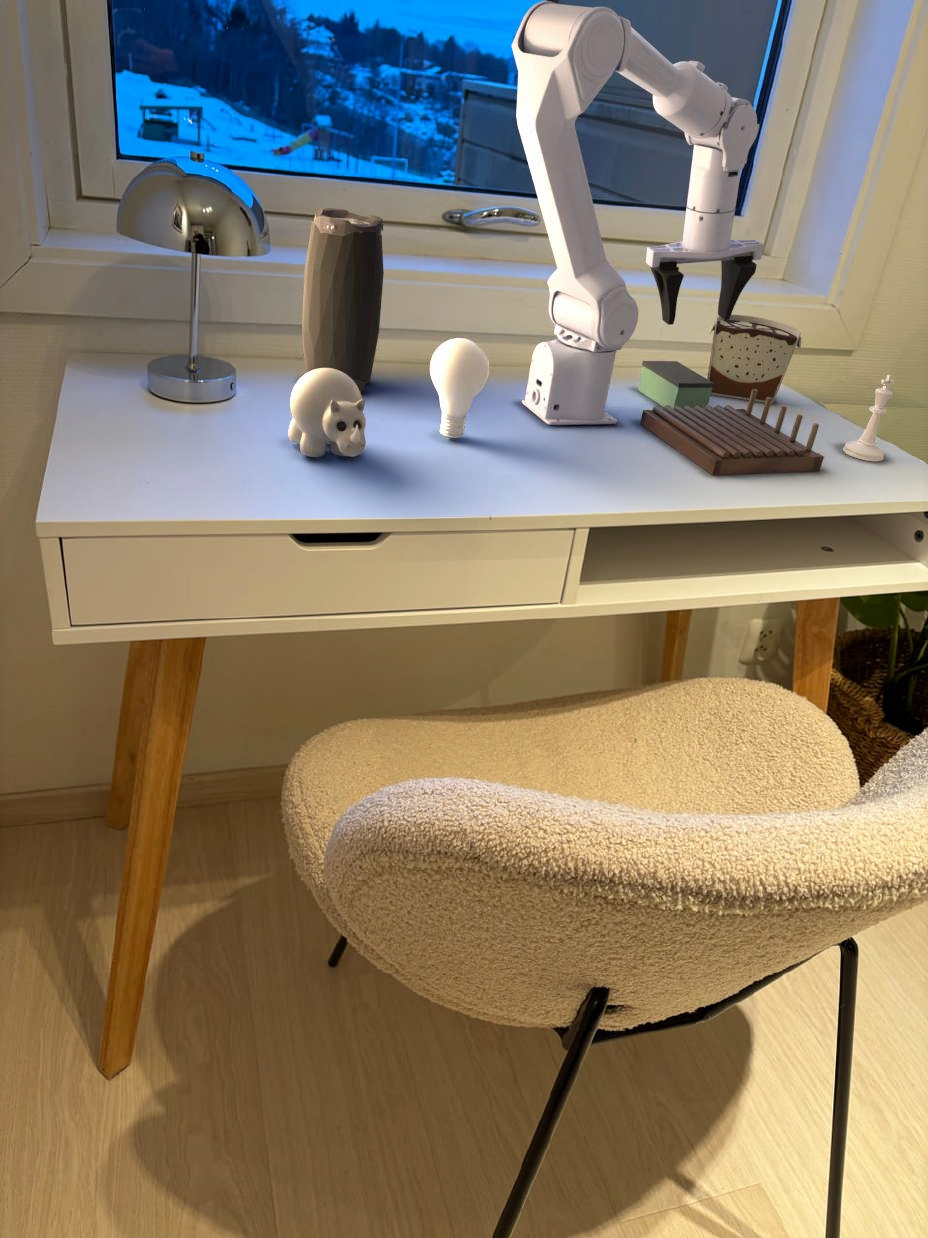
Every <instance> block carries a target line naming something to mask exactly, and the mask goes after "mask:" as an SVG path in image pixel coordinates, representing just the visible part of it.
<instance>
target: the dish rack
mask: <svg viewBox="0 0 928 1238" xmlns="http://www.w3.org/2000/svg"><path fill="white" fill-rule="evenodd" d="M757 391H758V390H756V389H752V391H751V395H750V399H749V400H748V402H747V407H746V409H745V408H734V407H733V406H731V405H730V404H725V405H724V407H722V406H721V405H720V404H716V405H715V406H713V407H712V406H711V405H709V404H708V405H706V406H705V407H704V408H702V407H701V406H699V405H696V406H695V407H694V408H692V407H691V406H689V405H686V406H685V407H684V408H682V407H680V406H679V405H676V406H675V407H674V408H671V407H670V406H668V405H666V406H664V407H662V406H660V405H654V406H653V407H652V409H642V412H641V417H640V420H639V424H640V425H641V426H642V427H644V428H645V429H647V430H648V431H650V433H652V434H653V435H654V436H656V437H658V438H659V439H661V440H662V441H663V442H664V443H666V444H667V445H669V446H671V448H673V449H675V450H676V451H678V452H679V453H680V454H681V455H683V456H685V457H686V458H688V460H690V461H692V462H693V463H694V464H696V465H697V466H698V467H699V468H701V469H703V470H704V471H705V472H707V473H708V474H709V475H712V476H722V475H725V476H727V475H744V474H745V475H749V474H750V475H751V474H752V475H753V474H774V473H798V472H801V473H803V472H820V471H821V469H822V465H823V462H824V460H825V456H824V455H823V454H821V453H820V452H816V451H814V450H813V447H814V444H815V441H816V437H817V434H818V432H819V428H820V424H819V423H815V422H814V423H813V424H812V426H811V429H810V433H809V437H808V439H807V442H806V445H804V444H802V443H801V442H799V441H797V438H798V434H799V431H800V427H801V424H802V421H803V418H804V415H803V414H801V413H797V414H796V417H795V420H794V424H793V427H792V430H791V433H790V436H789V435H787V433H784V432H783V431H782V427H783V424H784V419H785V416H786V413H787V410H788V406H787V405H784V404H783V405H781V406H780V409H779V413H778V417H777V420H776V424H775V427H774V426H772V425H771V424H769V423H767V419H768V416H769V412H770V408H771V405H772V404H771V401H772V398H771V397H767V398H766V401H765V403H764V404H763V408H762V411H761V415H760V418H759V417H757V416H756V415H754V414H753V413H752V412H753V409H754V407H755V402H756V401H755V399H756V395H757Z"/></svg>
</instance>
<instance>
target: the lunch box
mask: <svg viewBox="0 0 928 1238" xmlns="http://www.w3.org/2000/svg"><path fill="white" fill-rule="evenodd" d="M641 366H642V368H641V373H640V377H639V383H638V387H637V391H638V392H640V393H641V394H643V395H644V396H646V397H647V398H649V399H650V400H652V401H654V402H655V403H657V405H659V406H660V407H662V408H664V406H666V405H668V406H670V407H671V408H674V407H675V406H676V405H679V406H680V407H682V408H684V407H685V406H686V405H689V406H691V407H692V408H694V407H695V406H696V405H699V406H701V407H702V408H704V407H705V406H706V405H709V402H710V400H711V399H710V398H711V396H712V395H711V391H712V388H713V387H714V383H713V382H711V381H710V380H708V379H707V377H704V375H702V374H700V373H698V372H696V371H694V370H692V369H691V368H689V367H687V366H686V365H684V364H682V363H681V362H679V361H677V360H642V364H641Z"/></svg>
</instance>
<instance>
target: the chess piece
mask: <svg viewBox="0 0 928 1238" xmlns="http://www.w3.org/2000/svg"><path fill="white" fill-rule="evenodd" d="M895 382H896V381H895V380H894V379H893V375H892V374H887V375H886V377H885V379H881V381H880V384H881V385H883V386H882V387H878V388H876V389H875V391H874V395H875V397H874V398H875V399H874V405H872V406H871V405H870V406H869V408H868V411H869V412H870V413H872V414H871V416H870V418H869V421H868V423H867V424H866V427H865V429H864V431H863V433H862V435H861V436H860V437H859V438H857V440H851V441H847V442H845V443H844V446H843V447H842V450H843V452H844V453H845V454H846V455H848V456H850V457H852V458H855V459H859V460H862V461H867V462H881V461H884V459H885V457H884V456H885V454H886V453H885V451H884V449H882V447H880V446H878V442H877V441H876V439H877V433H878V429H879V423H880V421H881V420H880V419H881V415H887V413H888V412H887V409H886V408H885V406H886V404H887V403H888V402H889V400H890V399H891V398H892V396H893V395H894V392H893V391H892V390H891V389H889V388H890V385H894V384H895Z"/></svg>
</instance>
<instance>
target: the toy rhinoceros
mask: <svg viewBox="0 0 928 1238" xmlns="http://www.w3.org/2000/svg"><path fill="white" fill-rule="evenodd" d="M361 393H362V392H361ZM361 393H360V391H359V389H358V387H357V385H356V384H355V382H354V381H353V380H352V379H351V378H350V377H349V376H348V375H346V374H345V373H343V372H341V371H339V370H336V369H332V368H319V369H315V370H312V371H310V372H308V373H306V372H305V374H303V375H302V376H301V377H300V378H299V379H298V380H297V382H296V383H295V385H294V386H293V388H292V391H291V393H290V394H291V395H290V400H289V401H290V402H289V406H290V414H291V416H292V419H291V421H290V424H289V426H288V439H289V440H290V441H291V442H293V443H296V444H299V448H300V450H299V451H300V453H301V454H302V455H304V456H306V457H310V458H320V457H322V456H324V455H325V453H326V451H327V444H328V445H330V451H331V453H332V454H334V455H336V456H339V457H357V456H360V455H361V454H362V453H363V452H364V451H365V449H366V445H367V442H366V441H367V440H366V435H365V430H366V425H367V420H366V415H365V412H364V409H365V406H366V405H365V404H366V400H365V399H364V398H362V394H361Z"/></svg>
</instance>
